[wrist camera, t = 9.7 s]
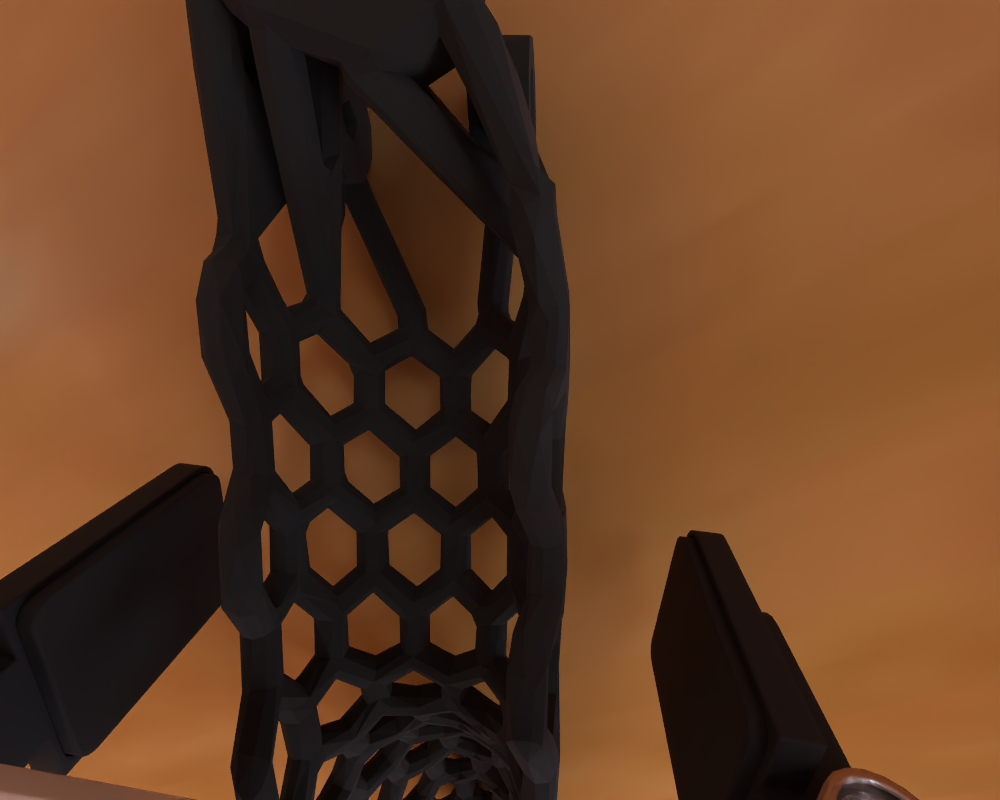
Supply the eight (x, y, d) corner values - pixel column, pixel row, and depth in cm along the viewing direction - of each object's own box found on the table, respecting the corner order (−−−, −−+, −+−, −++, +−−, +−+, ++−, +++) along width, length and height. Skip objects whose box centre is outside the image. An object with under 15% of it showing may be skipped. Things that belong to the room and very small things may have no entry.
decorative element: (561, 820, 15) (565, 1157, 10) (403, 805, 16) (324, 1116, 10) (565, -125, 8) (595, -1039, 2) (252, -88, 8) (-389, -725, 3)
